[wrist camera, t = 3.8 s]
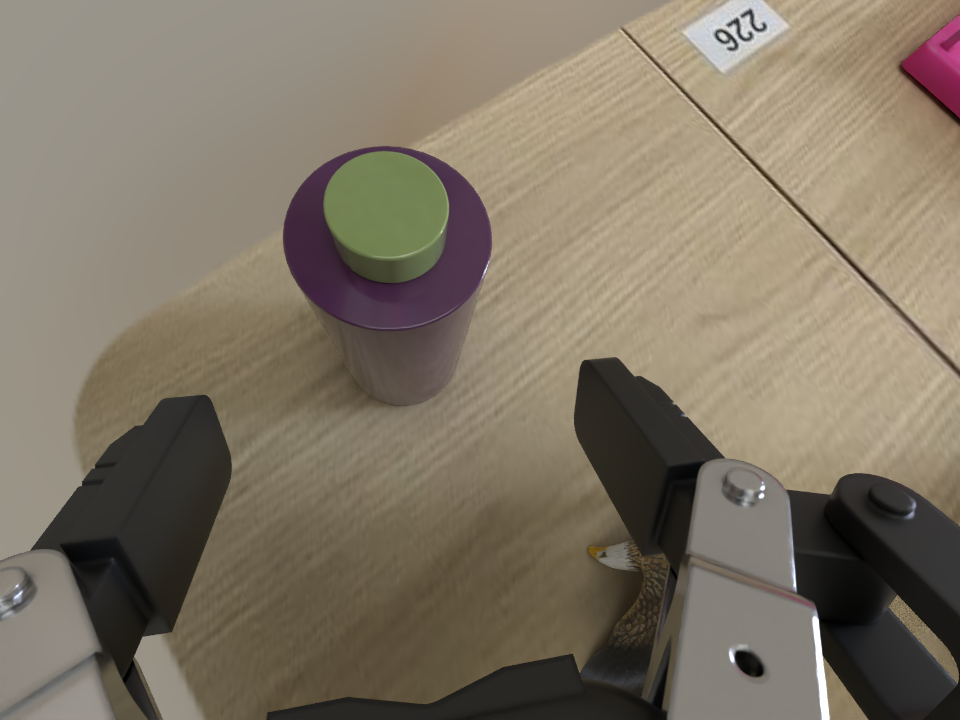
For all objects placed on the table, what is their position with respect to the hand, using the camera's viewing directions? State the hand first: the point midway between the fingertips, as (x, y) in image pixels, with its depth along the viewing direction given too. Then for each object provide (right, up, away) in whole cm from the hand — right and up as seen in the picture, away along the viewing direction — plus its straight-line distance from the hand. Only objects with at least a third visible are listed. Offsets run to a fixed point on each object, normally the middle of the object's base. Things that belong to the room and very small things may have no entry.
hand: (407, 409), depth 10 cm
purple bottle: (-2, +1, +10) cm, 10 cm away
